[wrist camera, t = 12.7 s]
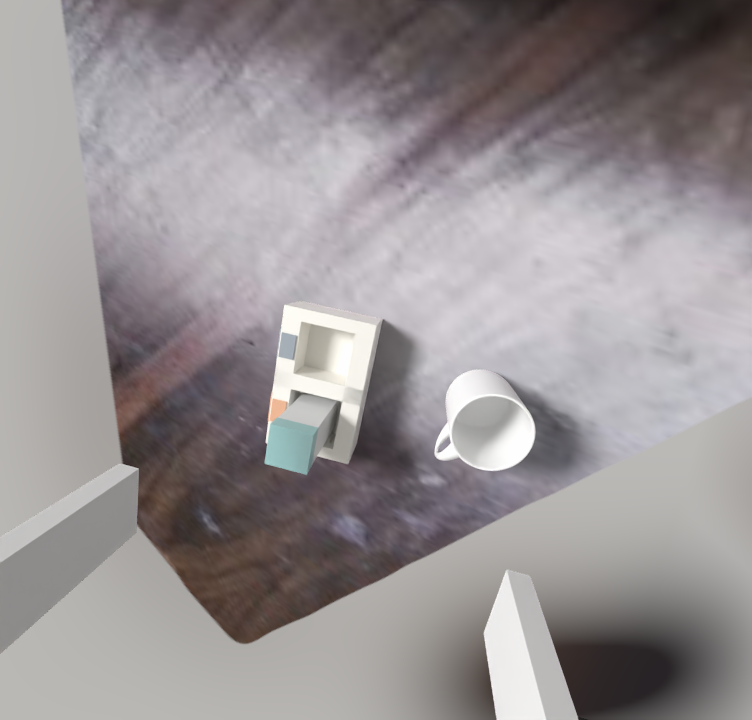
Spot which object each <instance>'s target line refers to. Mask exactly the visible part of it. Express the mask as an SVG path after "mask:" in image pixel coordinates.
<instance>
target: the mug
mask: <svg viewBox="0 0 752 720" xmlns="http://www.w3.org/2000/svg"><path fill="white" fill-rule="evenodd" d="M446 411H447V419H448V422H447V424H446V425H445V426H444V428H443V429H442V431H441V433H440V435H439V437H438V439H437V442H436V446H435V456H436V458H437V459H439V460H443V461H447V460H452V459H456V458H459V457H460V458H461V459H462V460H463V461H464V462H466V463H467V464H469V465H470V466H472V467H475V468H477V469H481V470H486V471H499V470H504V469H507V468H510V467H512V466H515V465H516V464H518V463H519V462H521V461H522V460H523V459H524V458H525V457H526V456H527V455H528V453H529V452H530V450H531V448H532V446H533V444H534V440H535V433H536V430H535V424H534V420H533V418H532V416H531V414H530V412H529V411H528V409H527V408H526V407H525V405H524V404H523V402H522V401H521V400H520V398H519V397H518V396H517V394H516V393H515V391H514V390H513V389H512V387H511V386H510V385H509V383H508V382H507V381H506V380H505V379H504V378H503V377H501V376H500V375H498V374H497V373H495V372H492V371H489V370H483V369H477V370H471V371H468V372H465V373H463V374H461V375H460V376H458V377H457V378H456V379H455V380H454V381H453V382H452V384H451V385H450V387H449V389H448V391H447V395H446ZM449 437H450V441H451V444H450V445H449V446H448V447H447V448H446V449H444V450H443V451H442V452H440V453H438V449H439V447H440V446H441V444H442V443H443V442H444V441H445V440H446V439H447V438H449Z"/></svg>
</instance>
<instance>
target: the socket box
mask: <svg viewBox="0 0 752 720" xmlns="http://www.w3.org/2000/svg"><path fill="white" fill-rule="evenodd" d="M382 321H383V319H381V318H377V317H372V316H368V315H363V314H359V313H354V312H350V311H345V310H341V309H336V308H332V307H327V306H323V305H318V304H314V303H309V302H305V301H298V302H294V303H290V304H285V305H284V312H283V319H282V326H281V327H280V334H279V342H278V349H277V356H276V358H277V363H276V370H275V377H274V385H273V392H272V393H271V400H270V408H269V415H268V429H267V436H266V443H268V436H269V429H270V424H271V423H272V422H273V421H274V420H275V419H276V418H277V417H279V416H280V415H281V414H282V413H283V412H284V411H285V410H286V409H287V408H288V407H289V406H290V405H291V404H292V403H293V402H295V401H296V400H297V399H298V398H299V397H300V396H301V395H302V394H303V393H304V392H305V393H309V394H313V395H317V396H321V397H325V398H329V399H334V400H338V401H339V406H338V411H337V417H336V422H335V427H334V429H333V431H332V432H331V434H330V436H329V437H328V439H327V440H326V442H325V444H324V445H323V447H322V449H321V450H320V452H319V454H318V455H317V456H319V457H322V458H326V459H330V460H334V461H338V462H342V463H346V464H348V463H349V461H350V459H351V456H352V454H353V451H354V449H355V447H356V444H357V441H358V436H359V431H360V426H361V422H362V417H363V412H364V407H365V402H366V398H367V393H368V388H369V383H370V378H371V374H372V369H373V364H374V359H375V354H376V350H377V345H378V340H379V335H380V330H381V326H382Z"/></svg>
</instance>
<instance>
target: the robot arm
mask: <svg viewBox="0 0 752 720" xmlns="http://www.w3.org/2000/svg"><path fill="white" fill-rule="evenodd" d="M138 478H139V469H138V468H135V467H131V466H127V465H124V464H120V463H119V464H118V465H116V466H114V467H113V468H111V469H109V470H108V471H106V472H105V473H103V474H101V475H100V476H98V477H96V478H95V479H93V480H92V481H90V482H88V483H87V484H85V485H84V486H82V487H80V488H79V489H77V490H76V491H74V492H72V493H71V494H69V495H68V496H66V497H64V498H63V499H61V500H59V501H58V502H56V503H54V504H53V505H51V506H50V507H48V508H47V509H45V510H43V511H41V512H40V513H38V514H37V515H35V516H33V517H32V518H30V519H29V520H27V521H25V522H24V523H22V524H21V525H19V526H17V527H16V528H14V529H12V530H11V531H9V532H8V533H6V534H4V535H3V536H1V537H0V654H1V653H2V652H3V651H4V650H5V649H6V648H7V647H8V646H10V645H11V644H12V643H13V642H14V641H15V640H16V639H18V638H19V637H20V636H21V635H22V634H23V633H24V632H25V631H26V630H28V629H29V628H30V627H31V626H32V625H33V624H34V623H35V622H37V621H38V620H39V619H40V618H41V617H42V616H43V615H44V614H46V613H47V612H48V611H49V610H50V609H51V608H52V607H53V606H54V605H56V604H57V603H58V602H59V601H60V600H61V599H62V598H64V597H65V596H66V595H67V594H68V593H69V592H70V591H71V590H73V589H74V588H75V587H76V586H77V585H78V584H79V583H80V582H81V581H83V580H84V579H85V578H86V577H87V576H88V575H89V574H90V573H91V572H93V571H94V570H95V569H96V568H97V567H98V566H99V565H101V564H102V563H103V562H104V561H105V560H106V559H107V558H108V557H109V556H111V555H112V554H113V553H114V552H115V551H116V550H117V549H118V548H120V547H121V546H122V545H123V544H124V543H125V542H126V541H127V540H129V538H131V537H132V536H133V535H134V534H135V533H136V528H137V504H138ZM484 638H485V645H486V652H487V658H488V665H489V672H490V678H491V684H492V691H493V698H494V704H495V711H496V717H497V720H587V719H584V718H580V717H577V714H576V711H575V708H574V705H573V702H572V699H571V696H570V693H569V690H568V687H567V684H566V681H565V678H564V675H563V672H562V669H561V666H560V664H559V660H558V658H557V654H556V651H555V648H554V646H553V642H552V640H551V636H550V633H549V631H548V627H547V625H546V622H545V619H544V616H543V613H542V610H541V607H540V604H539V601H538V598H537V595H536V592H535V589H534V586H533V583H532V580H531V577H530V576H529V575H526V574H522V573H518V572H515V571H511V570H506V572H505V575H504V578H503V581H502V584H501V587H500V589H499V592H498V595H497V598H496V600H495V603H494V606H493V609H492V611H491V614H490V617H489V620H488V623H487V625H486V628H485V631H484Z"/></svg>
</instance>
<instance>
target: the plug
mask: <svg viewBox="0 0 752 720" xmlns="http://www.w3.org/2000/svg"><path fill="white" fill-rule="evenodd" d="M338 406H339V401H338V400H334V399H329V398H325V397H321V396H317V395H313V394H309V393H305V392H304V393H303V394H302V395H301V396H300V397H299V398H298V399H297V400H296V401H295V402H293V403H292V404H291V405H290V406H289V407H288V408H287V409H286V410H285V411H284V412H283V413H282V414H281V415H280V416H279V417H277V418H276V419H275V420H274V421H273V422H272V423H271V424H270V429H269V436H268V443H267V451H266V458H265V464H268V465H272V466H276V467H280V468H283V469H287V470H291V471H295V472H299V473H302V474H306V475H307V473H308V471H309V470H310V468H311V466H312V464H313V462H314V460H315V459H316V457H317V455H318V454H319V452H320V450H321V449H322V447H323V445H324V444H325V442H326V440H327V439H328V437H329V436H330V434H331V432H332V431H333V429H334V427H335V422H336V417H337V411H338Z"/></svg>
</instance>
